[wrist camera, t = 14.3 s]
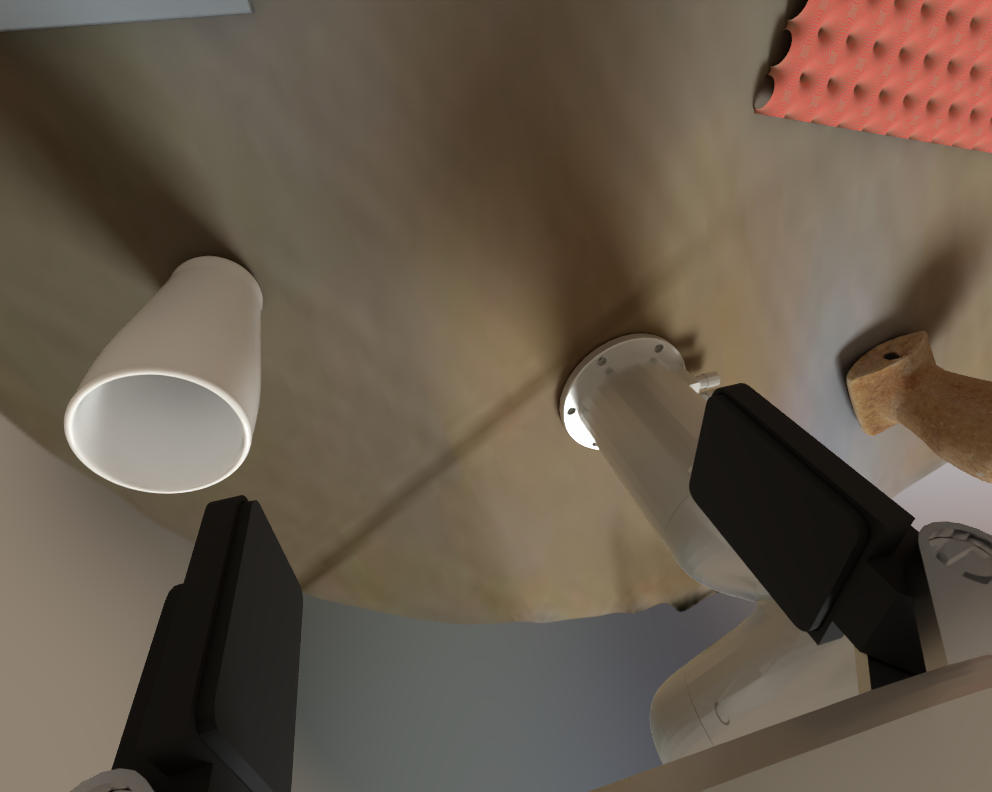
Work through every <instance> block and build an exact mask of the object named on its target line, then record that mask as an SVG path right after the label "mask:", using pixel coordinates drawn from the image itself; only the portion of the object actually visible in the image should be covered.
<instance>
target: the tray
mask: <svg viewBox="0 0 992 792" xmlns="http://www.w3.org/2000/svg"><path fill="white" fill-rule="evenodd" d="M253 13H255V12H254V8H253V5H252V1H251V0H0V32H5V31H19V30H32V29H46V28H60V27H74V26H88V25H101V24H115V23H129V22H143V21H156V20H170V19H184V18H198V17H212V16H225V15H239V14H253Z"/></svg>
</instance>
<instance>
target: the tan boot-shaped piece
mask: <svg viewBox="0 0 992 792" xmlns="http://www.w3.org/2000/svg"><path fill="white" fill-rule="evenodd" d="M846 381H847V387H848V392H849V395H850V399H851V402H852V405H853V409H854V412H855V415H856V417H857V420H858V422H859V424H860V426H861V428H862V430H863V431H864V432H865V433H866V434H868V435H870V436H874V435H876V434H878V433H880V432H882V431H884V430H886V429H888V428H890V427H891V426H893V425H895V424H897V423H900V424H902V425H904V426H905V427H907V428H908V429H909V430H910V431H912V432H913V433H914V434H915V435H917V436H918V437H919V438H920V439H921V440H923V441H924V442H925V443H926V444H927V445H928V447H929V448H930V449H931V450H932V451H933V452H934V453H936V454H937V455H938V456H939V457H941V458H942V459H944V460H945V461H947V462H949V463H951V464H952V465H954V466H955V467H957V468H958V469H960V470H962V471H964V472H966V473H968V474H970V475H972V476H974V477H976V478H978V479H980V480H982V481H985V482H988V483H992V382H991V381H986V380H981V379H977V378H972V377H968V376H964V375H959V374H956V373H952V372H948V371H946V370H944V369H942V368H940V367H939V366H937V365H936V363H935V360H934V357H933V353H932V350H931V347H930V344H929V340H928V335H927V333H926V332H925V331H918V332H914V333H911V334H908V335H904V336H900V337H897V338H895V339H892V340H889V341H886V342H884V343H882V344H880V345H877V346H876V347H874V348H873V349H872V350H870V351H868V352H867V353H866V354H865V355H863V356H862V357H861V358H860V359H859V360H858V361H857V362H856V363H855V364H854V365H853V367H852V368H851V369H850V370H849V372H848V374H847V378H846Z"/></svg>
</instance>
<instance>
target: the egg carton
mask: <svg viewBox="0 0 992 792" xmlns="http://www.w3.org/2000/svg"><path fill="white" fill-rule="evenodd" d="M787 21H788V24H787V27H786V29H787V30H789V31H790V32H791V34H792V44H791V47H790V50H789V52H788V54H787V55H786V57H785V58H784V60H783V61H782V62H781V63H779V64H778V65H776V66H770V67H771V70H770V73H769V74H768V75H771V76H772V77H773V78H774V81H775V87H774V92H773V94H772V97H771V99H770V100H769V102H768V103H767V104H766V105H765V106H764V107H762V108H760V109H755V113H757V114H763V115H769V116H775V117H781V118H787V119H793V120H799V121H805V122H811V123H817V124H823V125H829V126H835V127H841V128H847V129H852V130H858V131H865V132H870V133H876V134H882V135H889V136H894V137H900V138H906V139H912V140H918V141H924V142H930V143H936V144H942V145H948V146H954V147H960V148H966V149H972V150H978V151H984V152H990V153H992V0H808V2H807V4H806V6H805V8H804V9H803V11H802V12H801V13H800V14H799V15H798V16H797V17H795V18H794V19H791V20H787ZM786 29H785V30H786ZM782 31H783V30H782ZM766 76H767V75H766ZM753 108H754V107H753Z"/></svg>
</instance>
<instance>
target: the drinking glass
mask: <svg viewBox="0 0 992 792" xmlns="http://www.w3.org/2000/svg"><path fill="white" fill-rule="evenodd" d="M262 307H263V297H262V293H261V289H260V287H259V285H258V283H257V281H256V280H255V279H254V277H253V276H252V275H251V274H250V273H249V272H248V271H247V270H246V269H245V268H243V267H242V266H240V265H239V264H237V263H235V262H233V261H231V260H228V259H225V258H222V257H216V256H201V257H196V258H192V259H189V260H187V261H185V262H184V263H182V264H181V265H179V266H178V267H177V268H176V269H175V270H174V272H173V273H172V274H171V276H170V278H169V279H168V281H167V282H166V283H165V284H164V285H163V286H162V287H161V288H160V289H159V290H158V291H157V292H156V294H155V295H154V296H153V297H152V298H151V299H150V300H149V301H148V302H147V303H146V304H145V305H144V306H143V307H142V308H141V309H140V310H139V311H138V312H137V313H136V314H135V315H134V316H133V317H132V318H131V319H130V320H129V321H128V322H127V323H126V324H125V325H124V326H123V327H122V328H121V329H120V330H119V331H118V332H117V333H116V334H115V336H114V337H113V338H112V339H111V340H110V341H109V342H108V343H107V345H106V346H105V347H104V348H103V350H102V351H101V352H100V354H99V355H98V356H97V358H96V359H95V360H94V362H93V363H92V365H91V366H90V368H89V369H88V371H87V372H86V374H85V376H84V377H83V379H82V381H81V383H80V384H79V386H78V388H77V390H76V392H75V394H74V395H73V397H72V399H71V400H70V402H69V404H68V406H67V409H66V412H65V417H64V430H65V435H66V439H67V441H68V443H69V445H70V447H71V449H72V451H73V452H74V453H75V455H76V456H77V457H78V458H79V459H80V460H81V462H82V463H84V464H85V465H86V466H87V467H88V468H89V469H91V470H92V471H93V472H95V473H96V474H98V475H100V476H101V477H103V478H105V479H107V480H109V481H111V482H113V483H116V484H118V485H121V486H124V487H127V488H131V489H134V490H139V491H144V492H151V493H183V492H190V491H195V490H199V489H202V488H206V487H208V486H211V485H214V484H216V483H218V482H220V481H222V480H223V479H225V478H227V477H228V476H229V475H231V474H232V473H233V472H234V471H235V470H237V468H238V467H239V466H240V465H241V464H242V463H243V461H244V460H245V458H246V456H247V454H248V452H249V449H250V446H251V441H252V437H253V433H254V429H255V425H256V421H257V416H258V410H259V403H260V394H261V313H262Z"/></svg>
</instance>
